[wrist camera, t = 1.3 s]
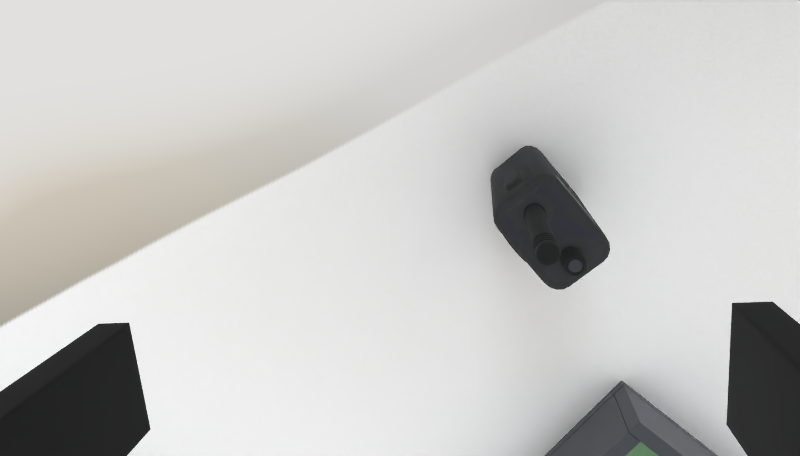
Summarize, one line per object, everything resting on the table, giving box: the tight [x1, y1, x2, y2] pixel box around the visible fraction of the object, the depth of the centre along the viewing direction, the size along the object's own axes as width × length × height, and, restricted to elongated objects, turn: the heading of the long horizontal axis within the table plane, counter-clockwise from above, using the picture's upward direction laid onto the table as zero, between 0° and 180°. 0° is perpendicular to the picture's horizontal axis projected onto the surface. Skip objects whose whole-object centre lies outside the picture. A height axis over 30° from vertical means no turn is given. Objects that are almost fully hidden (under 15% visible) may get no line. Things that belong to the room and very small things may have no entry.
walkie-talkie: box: [491, 146, 610, 289], centre depth 28 cm, size 5×3×15 cm
